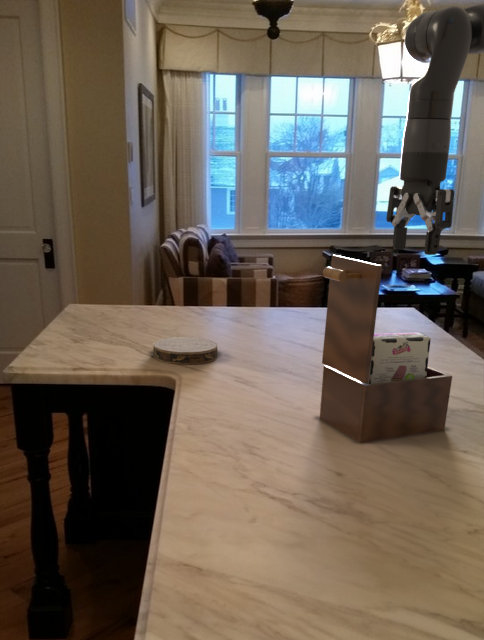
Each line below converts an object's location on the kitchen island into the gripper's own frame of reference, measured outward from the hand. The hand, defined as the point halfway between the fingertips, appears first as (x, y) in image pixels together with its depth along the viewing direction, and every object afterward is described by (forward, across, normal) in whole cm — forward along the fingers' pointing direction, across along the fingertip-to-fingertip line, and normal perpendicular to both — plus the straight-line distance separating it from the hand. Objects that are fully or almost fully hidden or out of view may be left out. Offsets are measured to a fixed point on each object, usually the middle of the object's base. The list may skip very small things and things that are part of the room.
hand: (414, 251), depth 122 cm
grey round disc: (+32, +59, +19) cm, 70 cm away
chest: (+32, 0, +4) cm, 32 cm away
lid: (+11, 0, +12) cm, 16 cm away
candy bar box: (+31, 0, +2) cm, 31 cm away
